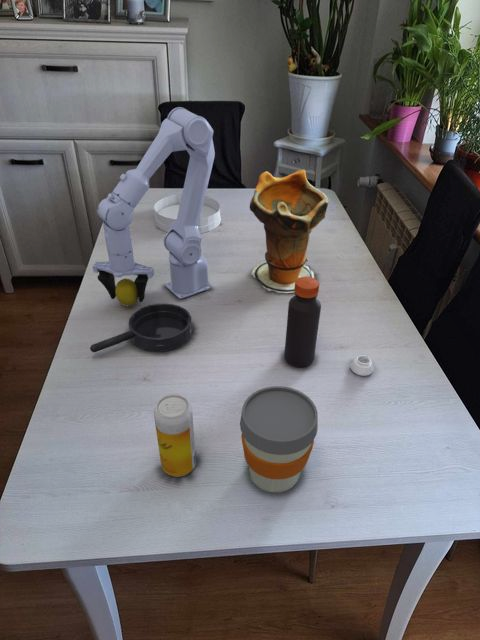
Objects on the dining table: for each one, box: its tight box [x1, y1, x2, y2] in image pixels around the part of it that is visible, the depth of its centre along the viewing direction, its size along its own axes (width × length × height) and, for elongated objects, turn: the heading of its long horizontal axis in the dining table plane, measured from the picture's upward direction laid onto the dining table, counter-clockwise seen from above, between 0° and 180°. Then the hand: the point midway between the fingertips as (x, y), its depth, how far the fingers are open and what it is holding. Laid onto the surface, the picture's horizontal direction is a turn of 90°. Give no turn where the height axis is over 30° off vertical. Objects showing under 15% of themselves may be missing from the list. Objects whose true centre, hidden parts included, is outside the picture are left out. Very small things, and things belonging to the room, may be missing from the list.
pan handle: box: [89, 330, 134, 353], centre depth 108 cm, size 10×2×2 cm, turn 128°
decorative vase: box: [249, 169, 330, 294], centre depth 129 cm, size 21×23×28 cm
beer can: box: [153, 393, 197, 478], centre depth 82 cm, size 6×6×15 cm
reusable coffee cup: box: [239, 385, 319, 494], centre depth 81 cm, size 13×13×15 cm
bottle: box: [283, 277, 322, 368], centre depth 104 cm, size 7×7×20 cm
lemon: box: [115, 277, 139, 307], centre depth 122 cm, size 6×6×8 cm
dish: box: [153, 193, 221, 235], centre depth 164 cm, size 22×22×5 cm
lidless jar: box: [349, 354, 375, 377], centre depth 108 cm, size 5×3×5 cm
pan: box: [128, 302, 193, 352], centre depth 115 cm, size 14×14×4 cm
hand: (128, 298), depth 123 cm, fingers open, 7 cm apart
